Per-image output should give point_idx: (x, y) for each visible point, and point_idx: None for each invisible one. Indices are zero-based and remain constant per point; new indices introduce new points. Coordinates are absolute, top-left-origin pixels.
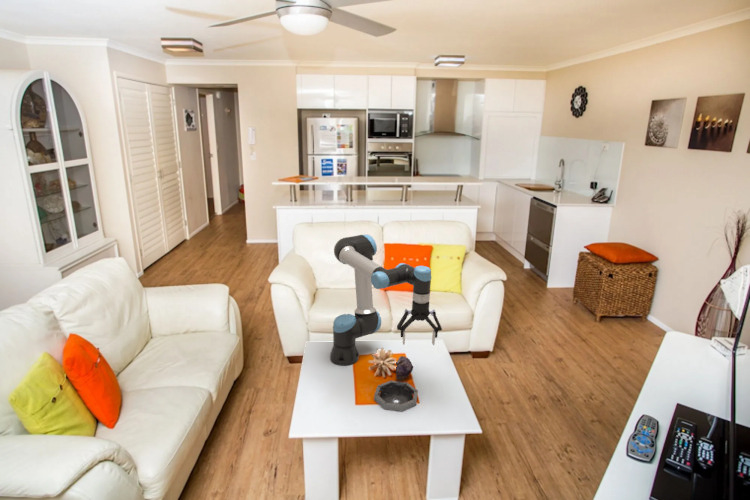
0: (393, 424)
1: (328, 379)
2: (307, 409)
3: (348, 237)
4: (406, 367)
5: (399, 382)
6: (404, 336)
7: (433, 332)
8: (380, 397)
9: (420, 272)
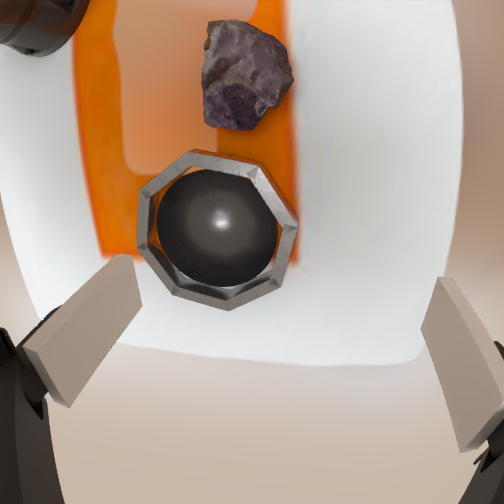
0: (208, 342)
1: (25, 139)
2: (27, 265)
3: None
4: (252, 100)
5: (223, 166)
6: (94, 364)
7: (464, 435)
8: (156, 260)
9: None
